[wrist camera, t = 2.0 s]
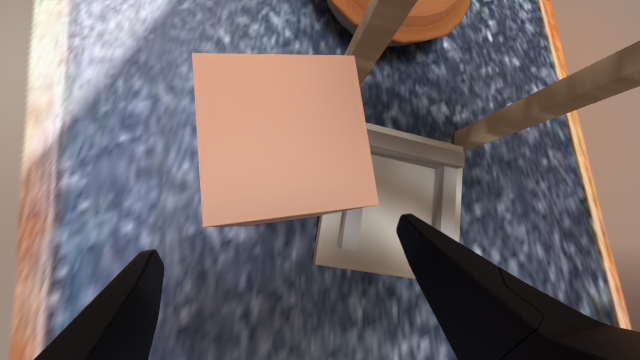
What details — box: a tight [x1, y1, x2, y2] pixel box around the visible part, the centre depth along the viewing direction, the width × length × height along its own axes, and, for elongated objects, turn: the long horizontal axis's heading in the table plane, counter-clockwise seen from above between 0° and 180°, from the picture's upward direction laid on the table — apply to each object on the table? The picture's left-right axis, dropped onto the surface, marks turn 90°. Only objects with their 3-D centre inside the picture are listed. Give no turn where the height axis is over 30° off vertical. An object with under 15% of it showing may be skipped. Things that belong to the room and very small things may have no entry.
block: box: [192, 53, 379, 227], centre depth 14 cm, size 5×5×13 cm
